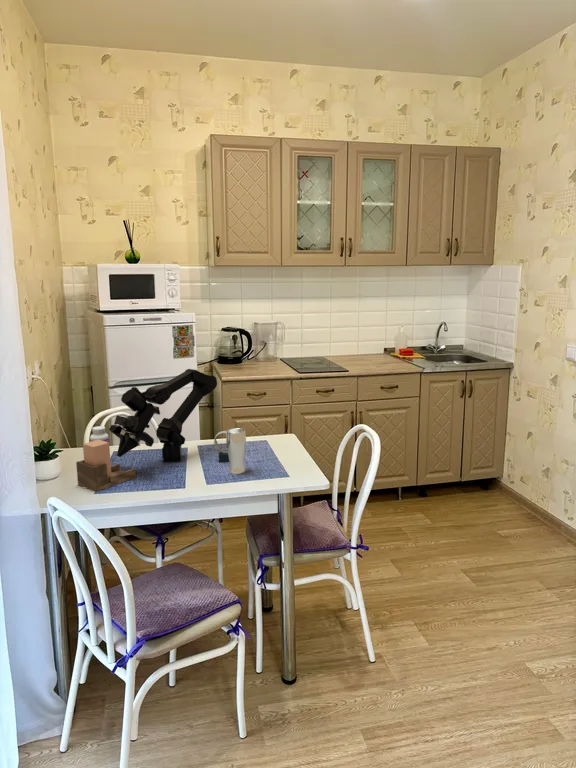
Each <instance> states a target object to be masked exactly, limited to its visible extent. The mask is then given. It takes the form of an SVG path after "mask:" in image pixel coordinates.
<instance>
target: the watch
mask: <svg viewBox="0 0 576 768" xmlns="http://www.w3.org/2000/svg"><path fill="white" fill-rule="evenodd" d="M222 434H225V435H226V434H227V430H221V431H219V432H217V434H215V436H214V441H213V444H214V446H215V448H216V450H217V451H218V463H229V456H228V452H227V449H221V446H219V445H220V444H218V441H217V437H218V436H220V435H222Z"/></svg>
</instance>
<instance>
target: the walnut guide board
mask: <svg viewBox="0 0 576 768" xmlns="http://www.w3.org/2000/svg"><path fill="white" fill-rule="evenodd" d="M75 465H76V476H77V485H78V486H80V487H83V488H85V489H89V490H91V491H94V492H98V491H101V490H104V489H107V488H110V487H112V485H113V486H116V485H118V484H122V483H124V481H125V482H127V481H130V480H133V479H135V478H137V475H136V469H135V468H131V469H128V470H122V469H121V464H120V463H116V464H113V465H111V475H112V476H109V481H108V475H107V464H106V463H104V464H100V465H97V466H92V465H89V464H86V463H84V459H83V460H77V461H76V462H75ZM121 482H122V483H121Z"/></svg>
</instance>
